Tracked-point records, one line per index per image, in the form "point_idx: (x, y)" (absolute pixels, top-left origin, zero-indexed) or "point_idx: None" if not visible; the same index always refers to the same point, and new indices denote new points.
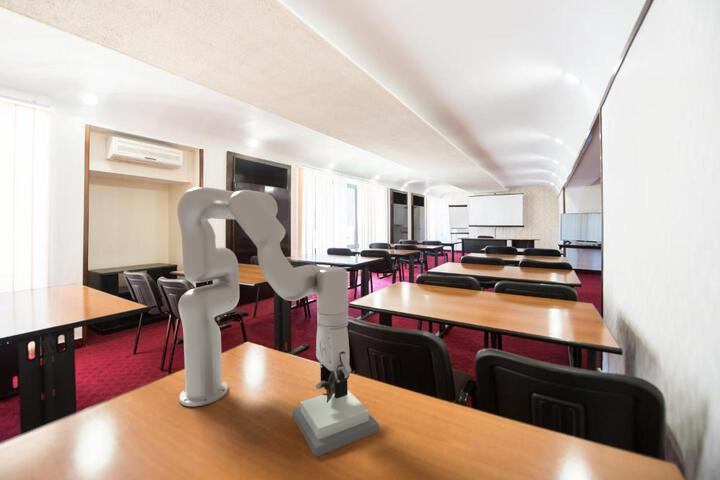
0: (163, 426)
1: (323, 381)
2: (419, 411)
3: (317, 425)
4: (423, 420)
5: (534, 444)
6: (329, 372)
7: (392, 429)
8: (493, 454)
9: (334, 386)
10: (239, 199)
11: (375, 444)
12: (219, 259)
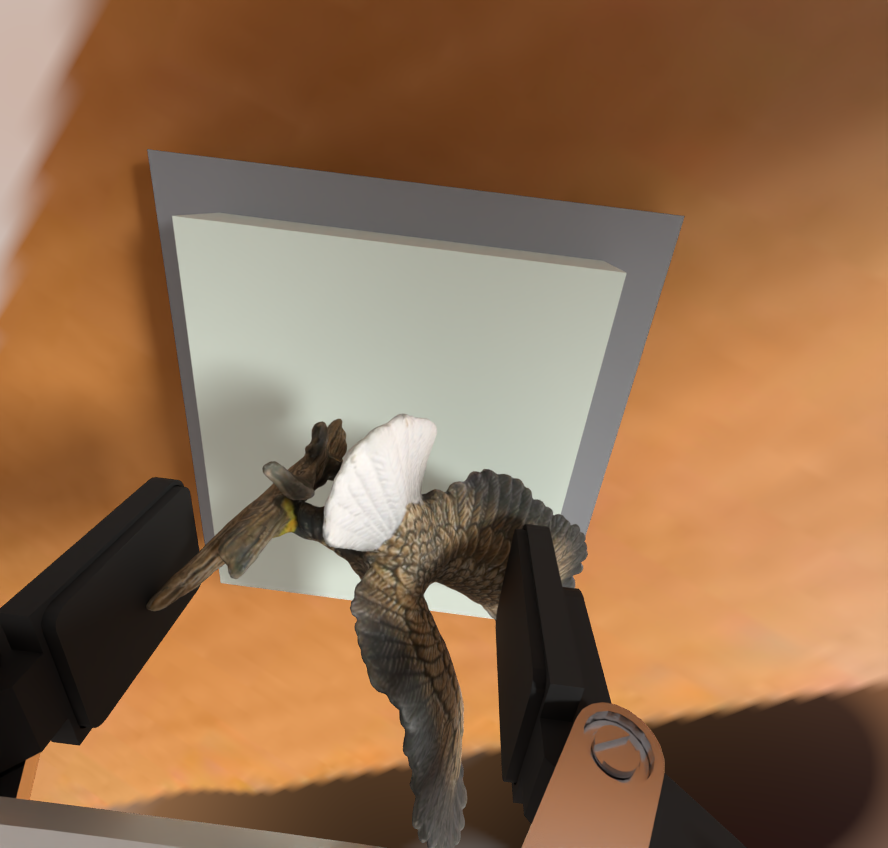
0: None
1: (331, 528)
2: (264, 710)
3: (215, 230)
4: (207, 685)
5: None
6: (506, 677)
7: (212, 579)
8: None
9: (83, 559)
10: None
11: (152, 471)
12: None
